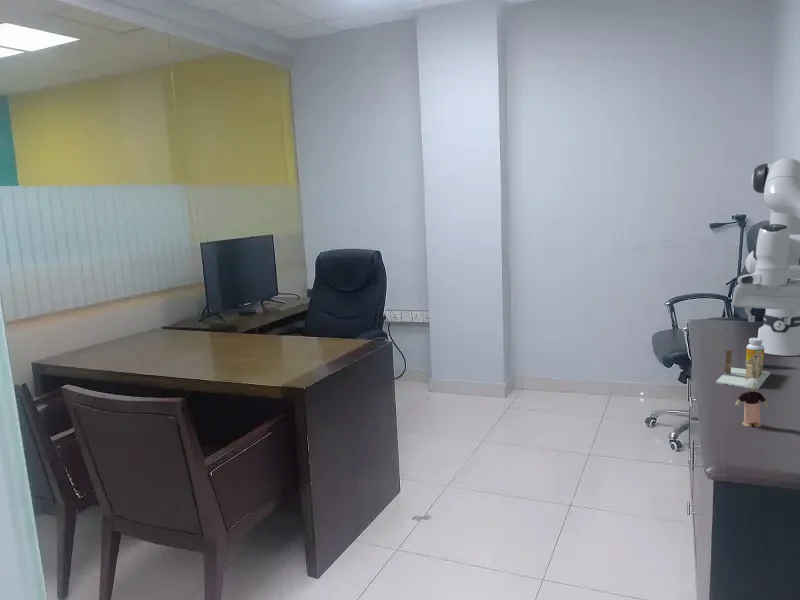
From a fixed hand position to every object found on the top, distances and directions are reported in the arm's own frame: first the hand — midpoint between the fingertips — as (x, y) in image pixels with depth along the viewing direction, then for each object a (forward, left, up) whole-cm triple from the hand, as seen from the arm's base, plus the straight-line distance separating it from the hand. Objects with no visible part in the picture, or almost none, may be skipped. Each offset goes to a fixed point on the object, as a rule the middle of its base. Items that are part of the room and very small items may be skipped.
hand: (768, 323), depth 187 cm
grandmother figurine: (+38, +3, -21) cm, 43 cm away
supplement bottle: (-24, -7, -21) cm, 33 cm away
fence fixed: (-11, -4, -20) cm, 23 cm away
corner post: (-8, -12, -20) cm, 25 cm away
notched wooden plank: (-2, -4, -19) cm, 20 cm away
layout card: (-6, -7, -20) cm, 23 cm away
